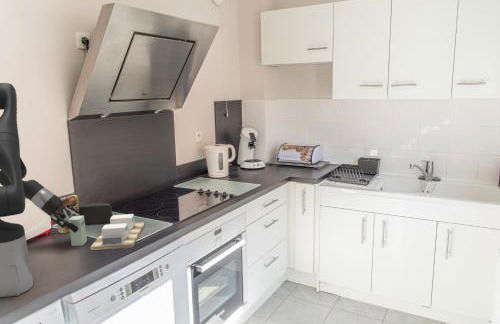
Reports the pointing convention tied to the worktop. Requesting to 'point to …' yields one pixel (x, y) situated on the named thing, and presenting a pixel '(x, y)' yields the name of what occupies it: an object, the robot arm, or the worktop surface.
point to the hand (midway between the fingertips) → (80, 227)
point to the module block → (80, 235)
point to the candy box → (73, 202)
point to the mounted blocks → (117, 228)
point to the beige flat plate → (116, 243)
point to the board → (127, 243)
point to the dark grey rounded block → (96, 213)
